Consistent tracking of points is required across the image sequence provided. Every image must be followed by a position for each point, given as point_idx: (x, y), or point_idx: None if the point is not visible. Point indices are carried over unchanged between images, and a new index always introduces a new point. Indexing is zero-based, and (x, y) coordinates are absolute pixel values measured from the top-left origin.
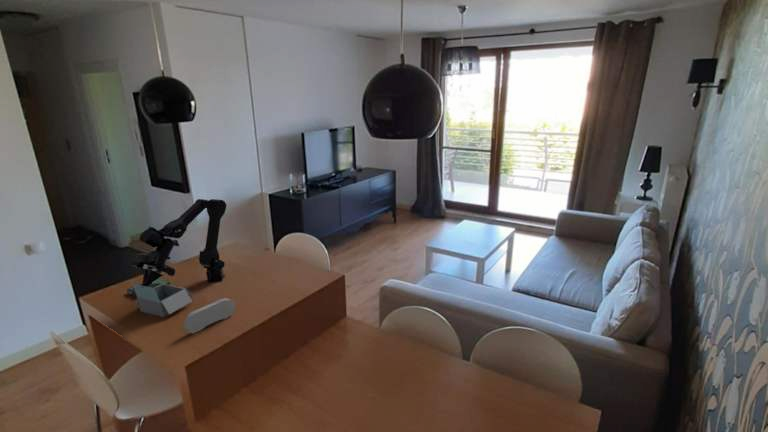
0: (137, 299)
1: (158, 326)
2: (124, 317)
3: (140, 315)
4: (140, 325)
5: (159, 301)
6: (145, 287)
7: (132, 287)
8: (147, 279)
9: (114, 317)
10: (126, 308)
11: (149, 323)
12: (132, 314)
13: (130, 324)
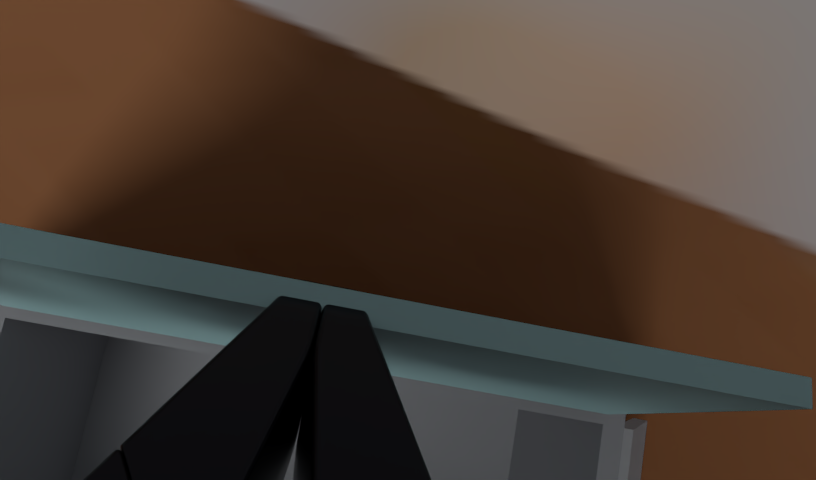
0: (626, 424)
1: (29, 122)
2: (610, 234)
3: (457, 302)
4: (275, 114)
5: (23, 311)
6: (199, 267)
7: None
8: (126, 457)
9: (722, 217)
10: (768, 415)
11: (197, 164)
12: (574, 306)
13: (412, 118)
